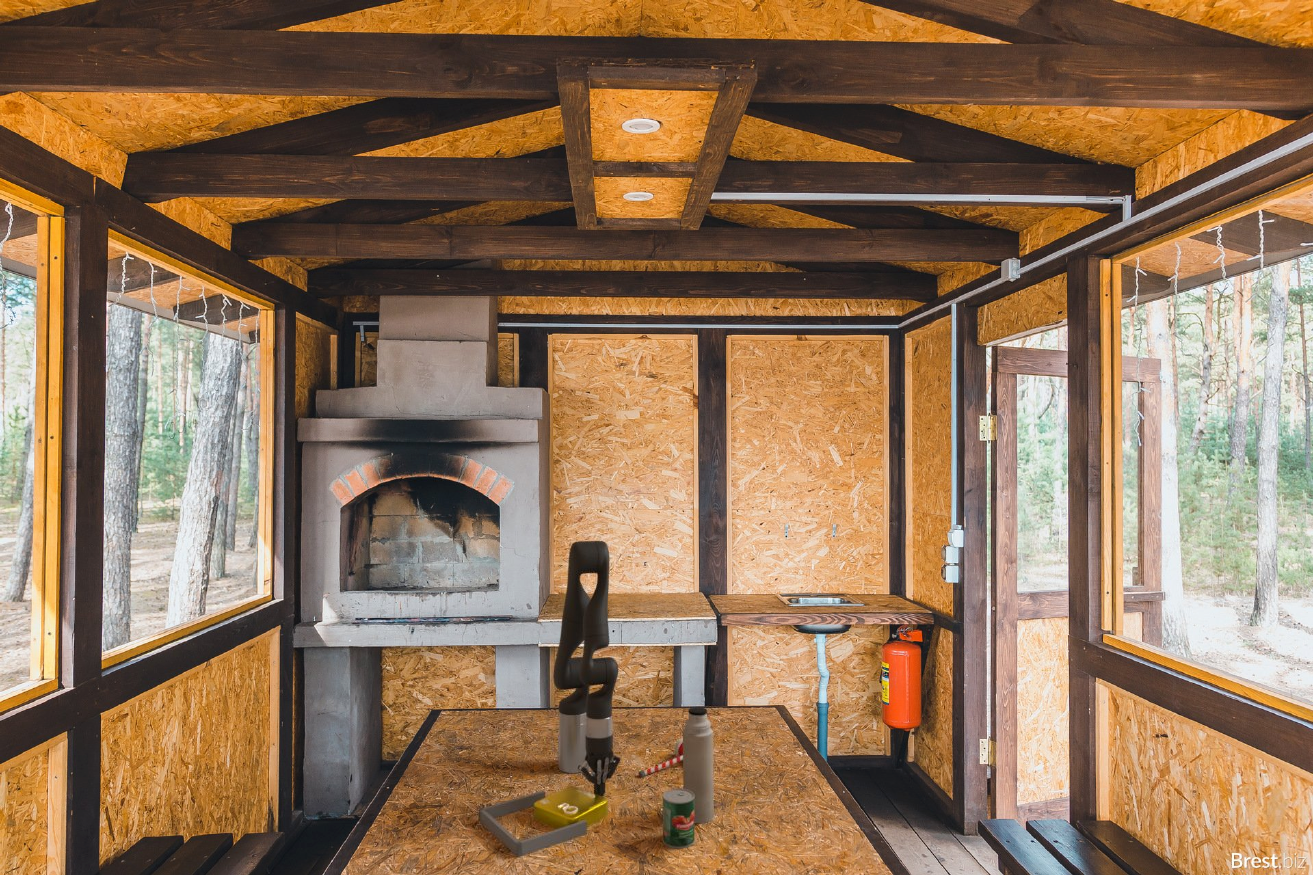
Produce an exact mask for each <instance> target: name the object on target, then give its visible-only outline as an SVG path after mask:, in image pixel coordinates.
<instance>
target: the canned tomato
mask: <svg viewBox="0 0 1313 875" xmlns="http://www.w3.org/2000/svg"><path fill="white" fill-rule="evenodd" d="M695 824H696V823H694V793H693V792H691V791H689V790H686V789H683V788H672V789H668V790H666V791H664V793H663V794H662V843H663V844H664V845H665V846H666V847H669V848H671V849H672V848H673V849H687V848H690V847H692V845H694V843H695V841H696V840H695V831H696V830H695Z"/></svg>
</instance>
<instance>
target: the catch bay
mask: <svg viewBox="0 0 1313 875" xmlns="http://www.w3.org/2000/svg"><path fill="white" fill-rule="evenodd" d="M546 794H547V793H546V791H545V790H541V791H537V792H534V793H530V794H527V795H523V796H520V797H516V798H512V799H509V800H507V801H506V800H505V801H502V802H500V803H496V804H492V805H489V806H485V807H482V808H479V809H478V822H479V823H480V824H482V825H483V826H484V827H485V829H486V830H488V831H489V832H490V833H491V834H492V835H493V836H495V838H496V839H497V840H498V841H499V842H500V843H502V844H503V845H504V846H505V847H506V848H507V849H509V851H511V852H512V853H513V854H514V855H515V856H516V857H517V858H520V857H522V856H525V855H528V854H531V853H534V852H538V851H540V850H543V849H546V848H549V847H552V846H554V845H555V846H556V845H558V844H561V843H564V842H567V841H571V840H572V839H576V838H579V837H581V836H585V835H587V834H588V827H587V822H586V821H585V820H584V821H581V822H578V823H575V824H572V825H569V826H566V827H563V828H560V829H554V830H551V831H548V832H545V833H542V834H538V835H536V836H532V837H529V838H527V839H523V840H519V839H518V838H517V837H516V836H515V835H513V834H512V833H511V832H510V831H509V830H508V829H506V827H505V826H503V825H502V824H501V823H500V822H498V820H496V818H499V817H503V816H507V815H509V814H513V813H516V812H519V811H522V810H526V809H531V808H532V807H533V808H534V803H535V802H537V801H539V800H541V799H543V798H545V797H547V796H546Z"/></svg>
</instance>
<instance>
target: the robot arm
mask: <svg viewBox="0 0 1313 875" xmlns="http://www.w3.org/2000/svg"><path fill="white" fill-rule="evenodd" d="M567 564H568V568H567V584H566V590H565V598H564V604H563V610H562V611H563V612H562V616H561V625H560V626H561V627H560V628H561V630H560V634H559V637H560V638H559V643H558V648H557V653H556V658H555V660H554V666H553V684H554V686H555V688H556V689H558V690H561V691H562V690H563V691H564V690H567V691H569V690H574V691H573V692H572V693H570V695H567V696H565V697H564V698H562V699H561V700H560V701H559V702H558V703H559V704H558V735H557V765H558V769H559V771H561V772H563V773H569V774H570V773H571V774H576V773H581V774H582V776H583V777H584V778H585V779H586V780H587V782H589V783H591V784H592V785H593V793H594V794H597V795H599V796H602V797H604V796H605V794H606V782H607V780H608V779H609V780H611V779H612V776H614V773H615V771H616V770H617V767H618V766H619V764H620V762H621V758H620V757H619V756H617V755H615V753H614V750H613V749H614V722H613V696H614V692H615V691H614V690H615V687H616V683H617V680H618V677H619V665H618V662H617V661H616V659H615V658H614V657H610V656H609V657H608V656H607V657H597V658H596V657H594V654H595V652H597V651H600V650H602V649H606V648H607V647H609V646H610V632H609V630H610V629H609V619H608V614H609V613H608V611H609V610H608V606H609V605H608V604H609V603H608V602H609V587H610V586H609V584H610V551H609V547H608V545H607V543H606V542H605V541H603V540H585V541H584V540H580V541H574V542H573V543H572V544H571V546H570V549H569V553H568V563H567ZM584 574H585V575H586V574H596V587H595V589H594V592H593V593H592V596H591V597H590V596H589V594H588V593H587V591H586V590H585V588H584V586H583V584H582V582H581V576H582V575H584ZM582 643H583V651H582V656H575V657H572V656H573V654H574V653H575V651H576V650H577V649H578V648H579V646H580V645H582ZM593 657H594V658H593ZM599 685H601V687H600V688H599V689H598V690H596V691H592V692H591V691H590V687H591V686H599ZM590 692H591V693H590ZM589 768H590V769H589ZM589 770H590V772H591V773H590V772H589Z"/></svg>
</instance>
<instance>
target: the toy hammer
mask: <svg viewBox="0 0 1313 875" xmlns="http://www.w3.org/2000/svg"><path fill="white" fill-rule="evenodd" d="M674 754H675V756H676V757H675V758H672V759H670V760H668V761H665V762H662V763H660V764H657V765H656V766H653V767H650V768H648V769H645V770H640V771H638V776H639V777H640V778H642V779H644V778H645V777H646V776H648V775H651V774H653V773H655V772H657V771H659V770H663V769H665V768H667V767H670V766H672V765H674V764H677V763H680V762H683V737H682V738H679V739H678V740H677V741H676V742H675V745H674Z"/></svg>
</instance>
